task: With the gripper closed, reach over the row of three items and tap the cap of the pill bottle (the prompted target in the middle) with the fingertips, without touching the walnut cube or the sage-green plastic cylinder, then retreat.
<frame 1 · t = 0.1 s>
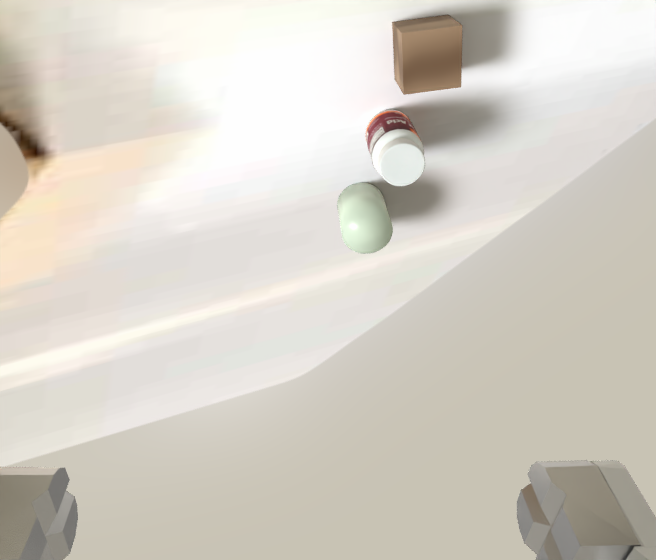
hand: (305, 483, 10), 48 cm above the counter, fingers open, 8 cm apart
walnut cube: (420, 47, 52), on the counter
pill bottle: (388, 131, 56), on the counter
sage cylinder: (360, 204, 60), on the counter
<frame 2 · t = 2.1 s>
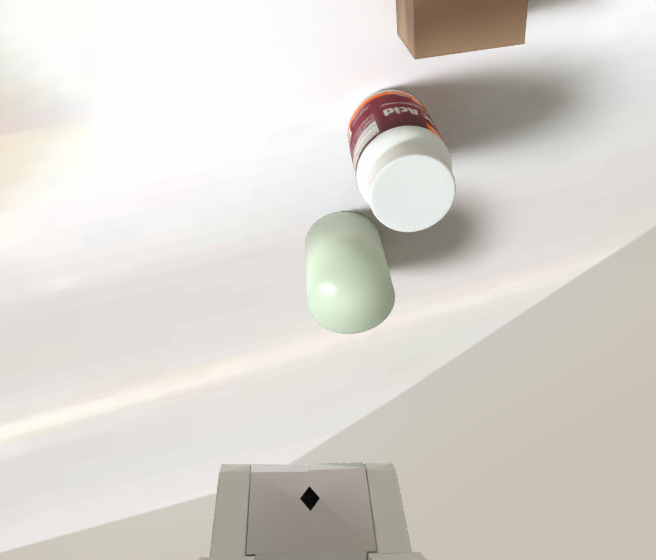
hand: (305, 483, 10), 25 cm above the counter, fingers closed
pill bottle: (386, 127, 33), on the counter
sage cylinder: (342, 244, 37), on the counter
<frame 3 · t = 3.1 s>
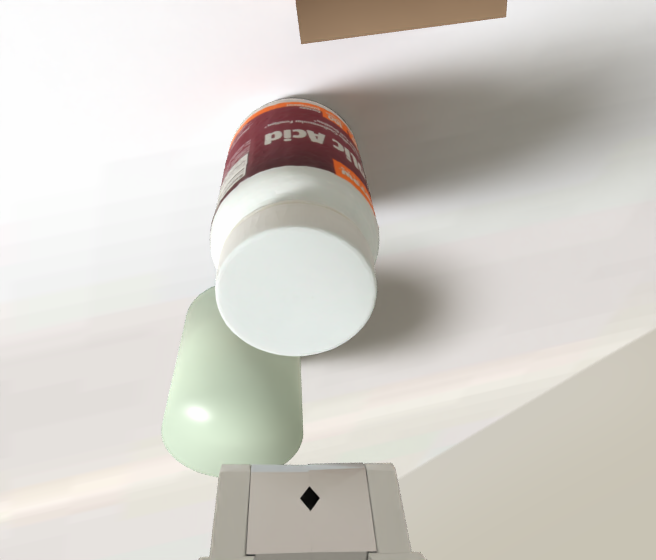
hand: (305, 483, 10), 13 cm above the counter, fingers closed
pill bottle: (293, 157, 21), on the counter
sage cylinder: (243, 327, 25), on the counter
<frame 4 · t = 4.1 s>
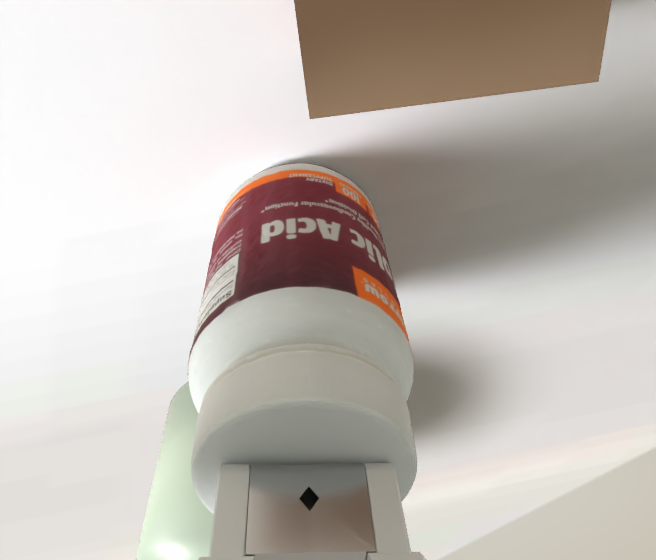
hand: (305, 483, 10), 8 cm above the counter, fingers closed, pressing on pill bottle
pill bottle: (297, 229, 17), on the counter, touching gripper
sage cylinder: (236, 418, 21), on the counter
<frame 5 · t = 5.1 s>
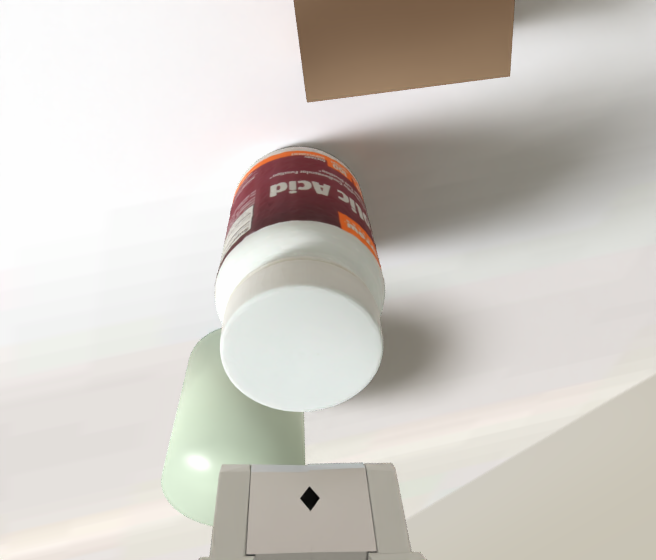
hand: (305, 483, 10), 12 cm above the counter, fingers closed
pill bottle: (297, 203, 21), on the counter
sage cylinder: (246, 369, 25), on the counter
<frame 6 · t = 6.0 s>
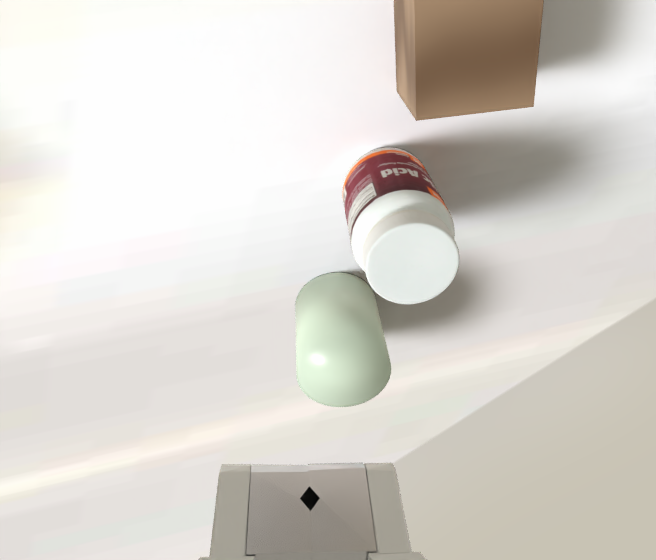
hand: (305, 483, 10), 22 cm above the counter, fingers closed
walnut cube: (447, 31, 27), on the counter
pill bottle: (383, 185, 31), on the counter
sage cylinder: (335, 306, 35), on the counter
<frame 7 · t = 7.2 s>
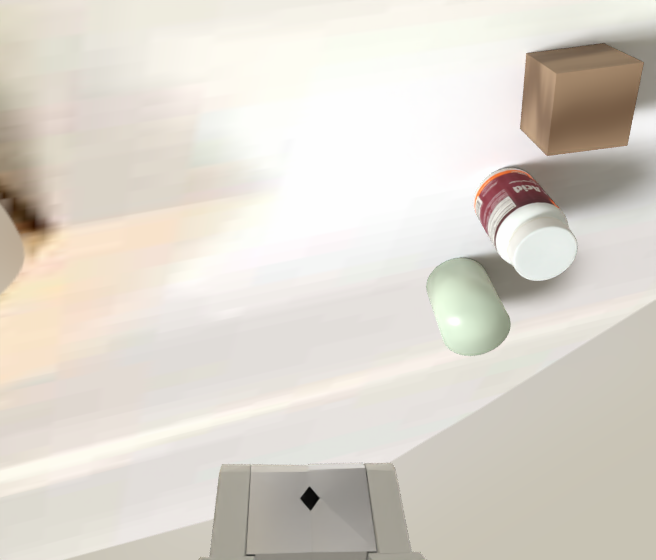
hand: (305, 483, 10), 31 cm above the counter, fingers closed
walnut cube: (559, 87, 38), on the counter
pill bottle: (502, 194, 42), on the counter
sage cylinder: (456, 283, 46), on the counter
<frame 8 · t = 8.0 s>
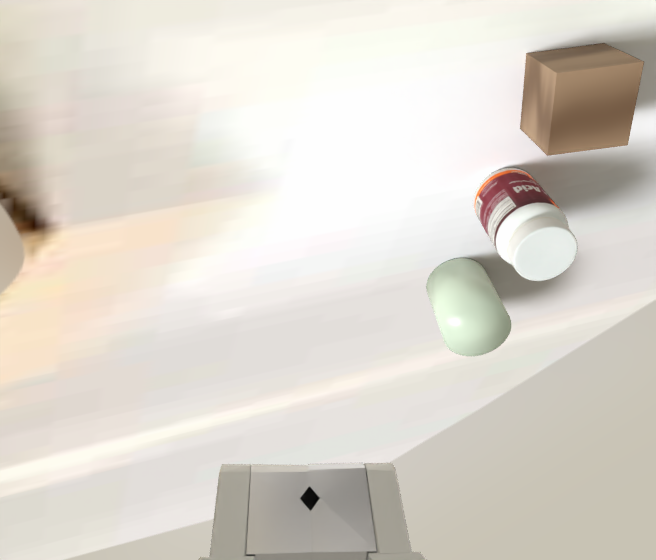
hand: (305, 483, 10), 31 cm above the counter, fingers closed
walnut cube: (559, 87, 38), on the counter
pill bottle: (502, 194, 42), on the counter
sage cylinder: (456, 283, 46), on the counter
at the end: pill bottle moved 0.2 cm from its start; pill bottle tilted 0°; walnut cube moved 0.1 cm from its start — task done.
